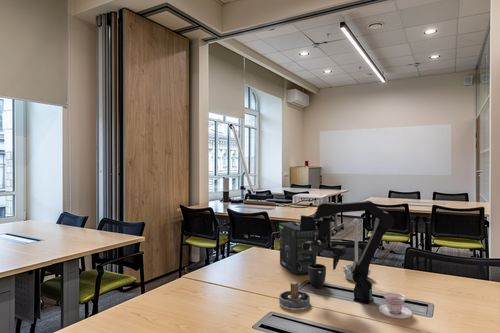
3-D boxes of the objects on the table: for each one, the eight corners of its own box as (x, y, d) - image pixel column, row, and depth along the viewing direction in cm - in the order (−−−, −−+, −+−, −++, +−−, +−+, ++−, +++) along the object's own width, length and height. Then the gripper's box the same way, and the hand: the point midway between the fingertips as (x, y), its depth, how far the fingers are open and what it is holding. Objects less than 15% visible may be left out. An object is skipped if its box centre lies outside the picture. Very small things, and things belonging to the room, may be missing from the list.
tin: (315, 302, 141) (315, 295, 141) (299, 312, 131) (299, 304, 131) (290, 295, 149) (289, 288, 149) (273, 304, 139) (273, 297, 139)
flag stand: (374, 282, 164) (373, 220, 164) (347, 282, 164) (346, 220, 164) (365, 273, 177) (365, 216, 177) (340, 273, 177) (340, 216, 177)
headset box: (279, 263, 196) (278, 219, 196) (297, 261, 200) (297, 217, 199) (295, 275, 174) (295, 225, 174) (316, 273, 178) (316, 224, 178)
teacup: (384, 303, 140) (384, 288, 140) (415, 311, 132) (415, 295, 132) (373, 313, 131) (373, 297, 131) (406, 322, 123) (406, 305, 123)
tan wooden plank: (298, 301, 141) (298, 282, 141) (294, 303, 138) (294, 284, 138) (294, 300, 142) (294, 281, 142) (290, 302, 139) (290, 283, 139)
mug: (310, 292, 152) (310, 271, 152) (307, 283, 164) (307, 263, 164) (329, 292, 152) (329, 271, 152) (324, 283, 164) (324, 263, 163)
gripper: (295, 232, 145) (295, 268, 145) (336, 237, 133) (336, 277, 133) (308, 228, 154) (308, 262, 154) (347, 233, 142) (347, 270, 142)
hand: (324, 267), depth 146 cm, fingers open, 9 cm apart
